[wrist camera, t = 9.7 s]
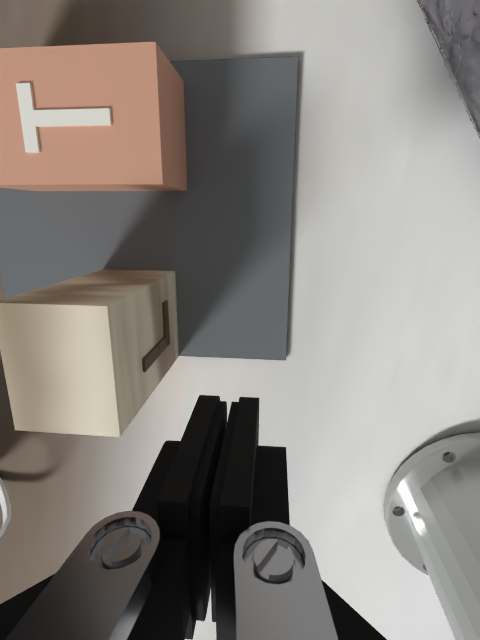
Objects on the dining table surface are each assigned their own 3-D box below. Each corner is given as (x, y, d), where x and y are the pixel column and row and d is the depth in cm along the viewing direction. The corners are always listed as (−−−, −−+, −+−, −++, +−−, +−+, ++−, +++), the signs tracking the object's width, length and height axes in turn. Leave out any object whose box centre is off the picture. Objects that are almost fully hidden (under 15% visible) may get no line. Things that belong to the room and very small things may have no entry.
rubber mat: (297, 59, 21) (298, 56, 20) (285, 358, 26) (285, 360, 25) (-30, 72, 23) (-35, 69, 22) (17, 346, 28) (13, 348, 27)
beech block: (177, 270, 24) (110, 306, 15) (181, 355, 26) (122, 437, 16) (102, 269, 25) (-9, 302, 15) (110, 352, 26) (15, 430, 17)
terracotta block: (154, 40, 16) (-53, 49, 17) (161, 183, 18) (-28, 184, 19) (183, 80, 21) (21, 86, 22) (187, 190, 23) (36, 191, 24)
